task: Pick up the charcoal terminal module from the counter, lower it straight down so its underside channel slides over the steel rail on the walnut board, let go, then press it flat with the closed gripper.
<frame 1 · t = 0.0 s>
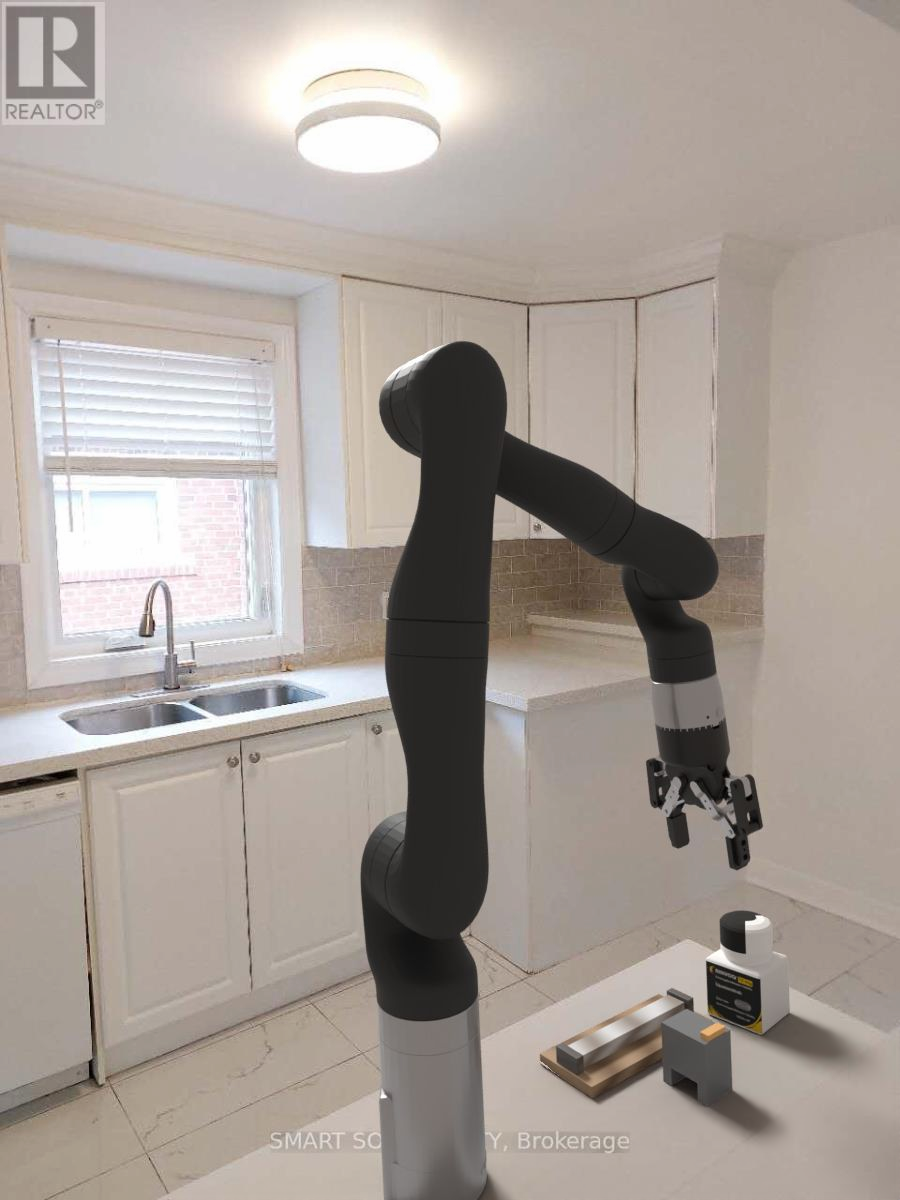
hand: (709, 856, 94), 22 cm above the table, tool pointing down, fingers open, 8 cm apart
rail board: (628, 1046, 97), on the table
medicine bottle: (748, 1015, 103), on the table
terminal module: (697, 1085, 89), on the table
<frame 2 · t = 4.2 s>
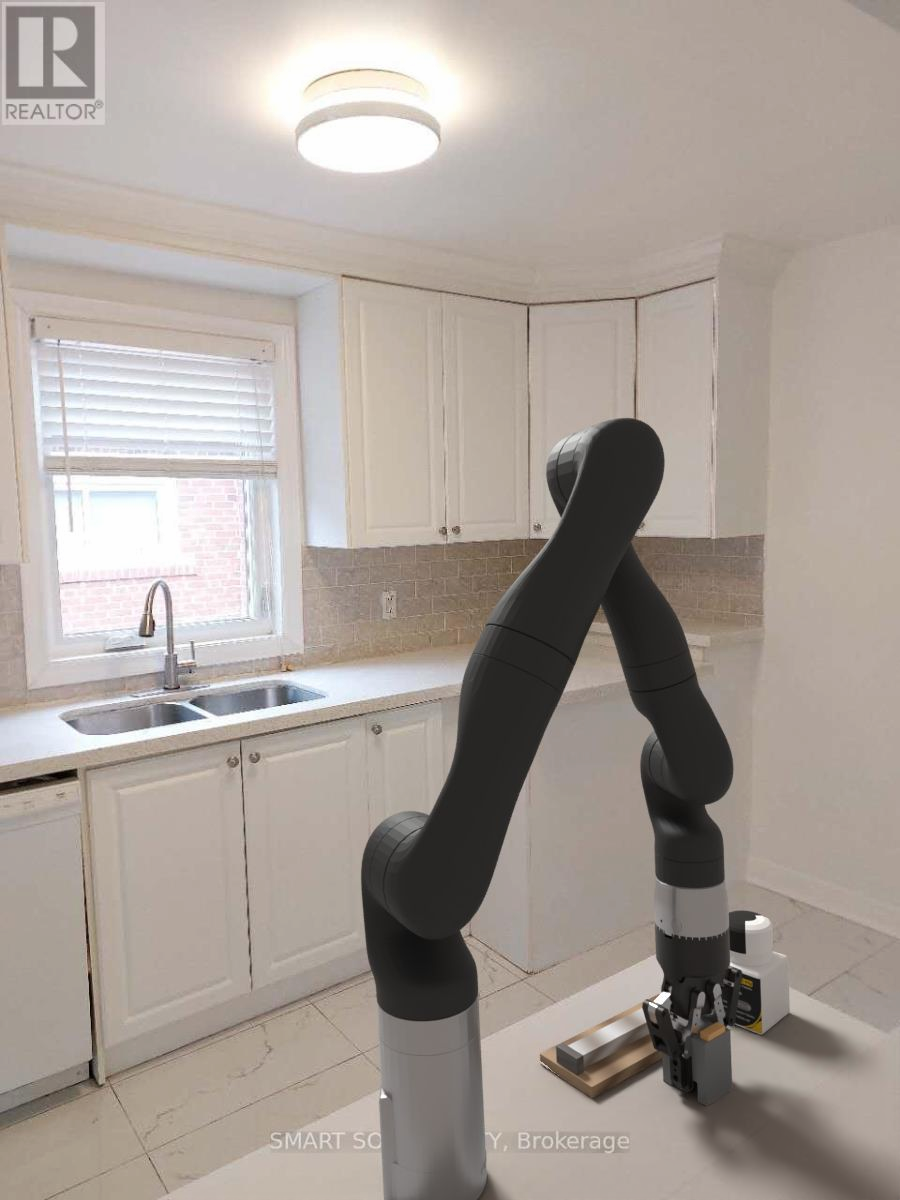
hand: (696, 1077, 89), 1 cm above the table, tool pointing down, fingers closed on terminal module, 4 cm apart
terminal module: (697, 1085, 89), on the table, touching gripper
everything else where it was.
when the fingers open (3 cm above the table, at t = 8.9 s): terminal module stays where it is, resting on rail board.
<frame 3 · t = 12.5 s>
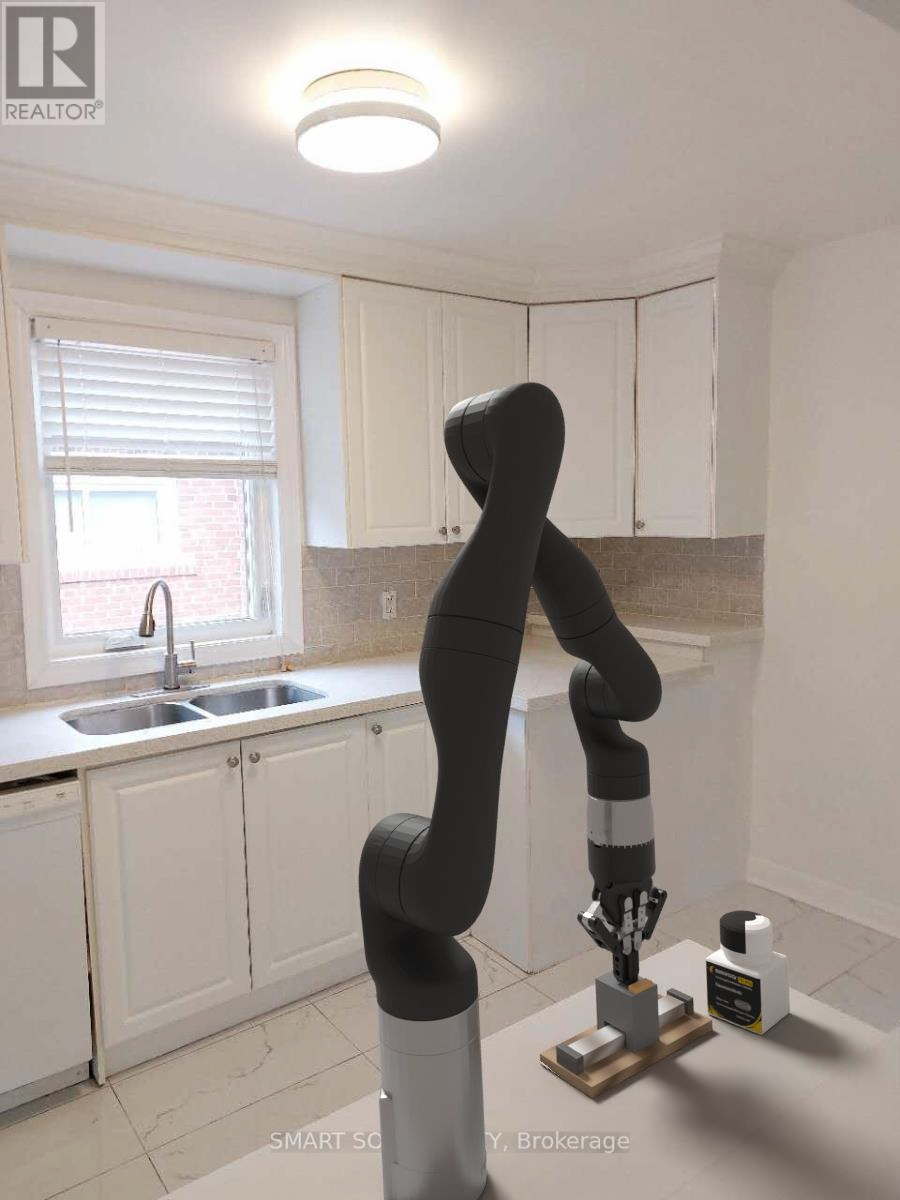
hand: (626, 981, 97), 8 cm above the table, tool pointing down, fingers closed
terminal module: (628, 1036, 97), point 1 cm above the table, touching gripper, rail board
everything else where it was.
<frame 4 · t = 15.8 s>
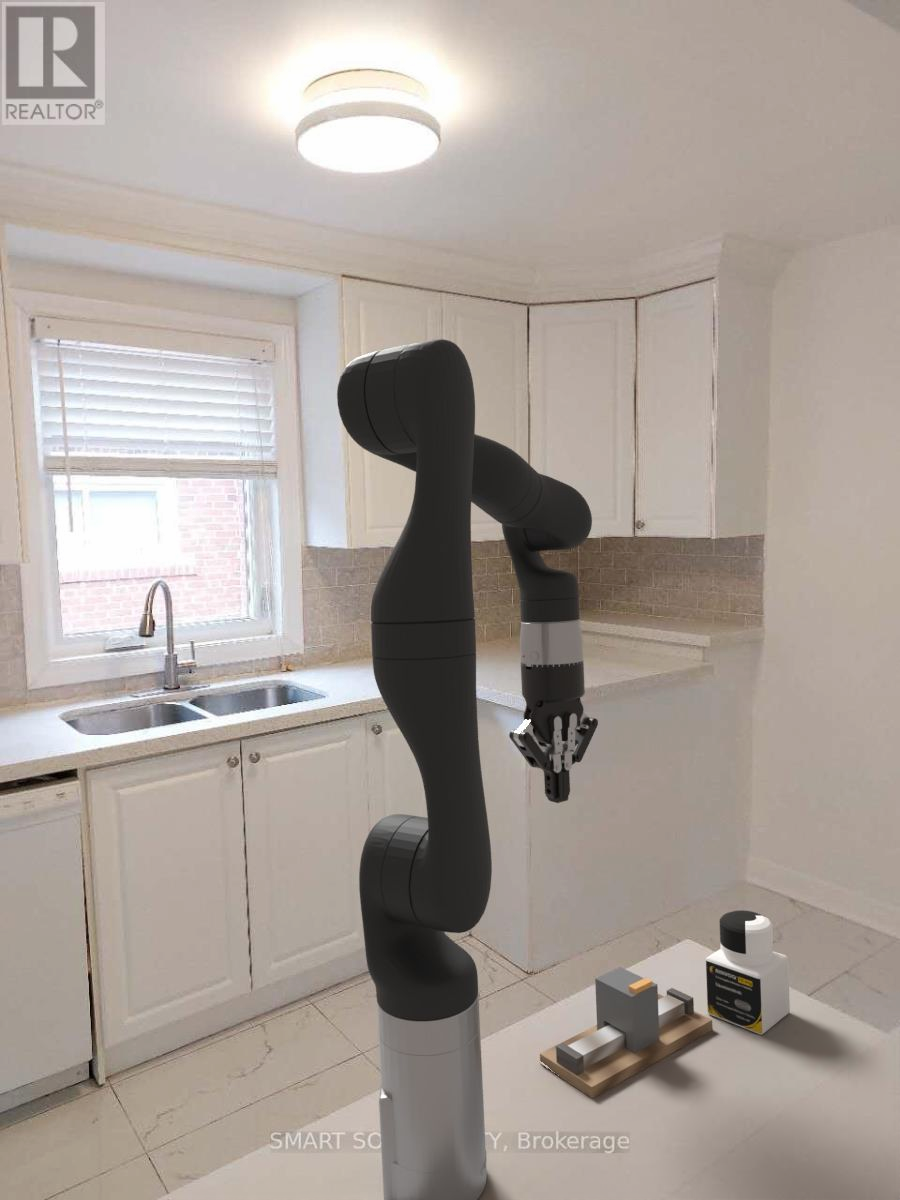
hand: (557, 800, 103), 27 cm above the table, tool pointing down, fingers closed
terminal module: (628, 1036, 97), point 1 cm above the table, touching rail board
everything else where it was.
at the end: terminal module 0.0 cm off-centre on the rail board, point 1.2 cm above the rail board's base; terminal module tilted 0°; the gripper is holding nothing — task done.
